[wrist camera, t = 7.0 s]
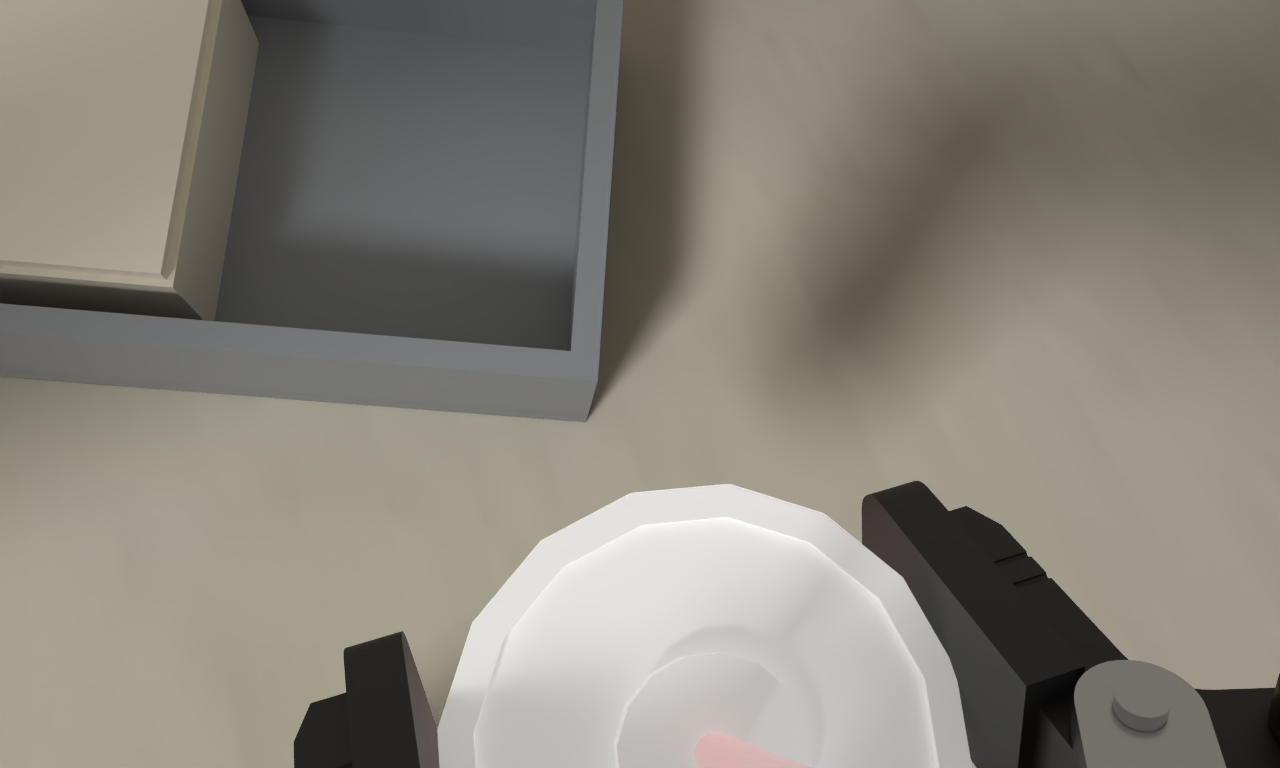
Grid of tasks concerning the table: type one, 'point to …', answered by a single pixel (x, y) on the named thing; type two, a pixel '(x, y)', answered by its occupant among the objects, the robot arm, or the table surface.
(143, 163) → the beige rectangular block
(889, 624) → the beverage cup
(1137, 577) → the table surface
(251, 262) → the tray
